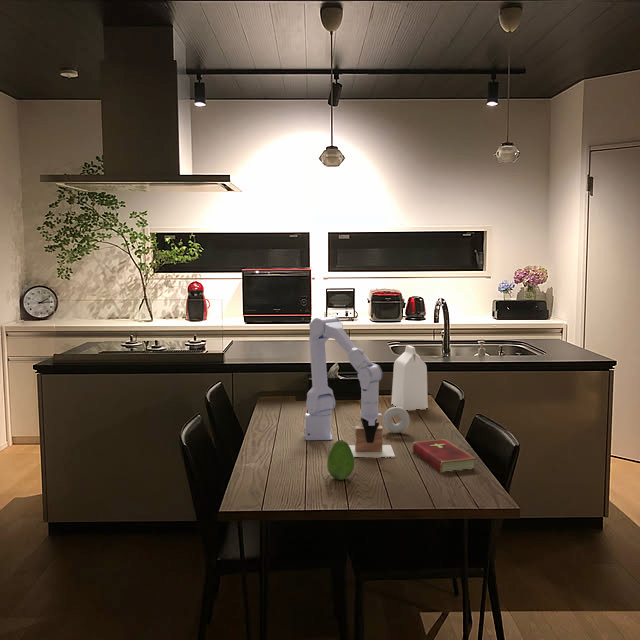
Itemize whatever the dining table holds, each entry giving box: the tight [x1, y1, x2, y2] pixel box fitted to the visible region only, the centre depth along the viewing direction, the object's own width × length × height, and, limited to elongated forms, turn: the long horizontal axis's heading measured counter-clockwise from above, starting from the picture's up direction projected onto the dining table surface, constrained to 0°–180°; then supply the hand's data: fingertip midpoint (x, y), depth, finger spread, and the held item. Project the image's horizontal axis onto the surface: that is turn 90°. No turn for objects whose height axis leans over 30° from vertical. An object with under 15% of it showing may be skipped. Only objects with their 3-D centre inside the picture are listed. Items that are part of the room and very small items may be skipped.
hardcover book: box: [412, 438, 477, 474], centre depth 219 cm, size 12×21×4 cm, turn 17°
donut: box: [382, 406, 411, 434], centre depth 249 cm, size 10×4×10 cm, turn 91°
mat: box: [348, 444, 396, 459], centre depth 228 cm, size 16×12×1 cm
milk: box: [390, 344, 429, 411], centre depth 287 cm, size 12×12×26 cm
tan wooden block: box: [354, 425, 384, 452], centre depth 227 cm, size 4×9×8 cm, turn 91°
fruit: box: [326, 439, 355, 481], centre depth 202 cm, size 8×8×12 cm
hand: (369, 440), depth 227 cm, fingers closed on tan wooden block, 3 cm apart
